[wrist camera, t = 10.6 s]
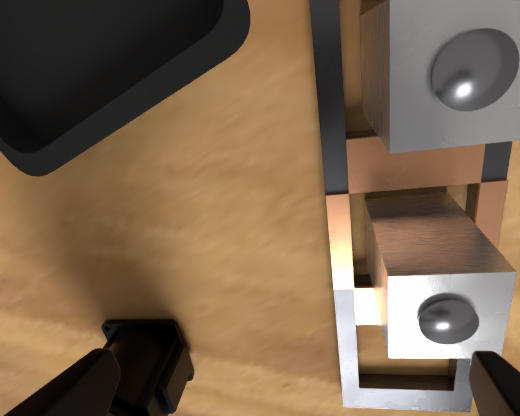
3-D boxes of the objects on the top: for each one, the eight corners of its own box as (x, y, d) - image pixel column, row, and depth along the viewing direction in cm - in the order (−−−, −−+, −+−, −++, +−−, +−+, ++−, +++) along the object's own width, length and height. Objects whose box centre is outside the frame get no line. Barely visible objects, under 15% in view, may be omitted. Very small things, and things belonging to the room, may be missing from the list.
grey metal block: (362, 112, 18) (391, 156, 11) (359, 16, 16) (392, -4, 9) (455, 100, 17) (550, 139, 10) (463, -4, 15) (587, -42, 8)
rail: (463, 396, 26) (471, 414, 24) (342, 393, 28) (343, 409, 26) (534, -111, 13) (557, -127, 12) (304, -57, 15) (303, -66, 14)
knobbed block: (366, 261, 22) (390, 363, 15) (364, 198, 20) (389, 281, 13) (442, 258, 21) (503, 364, 14) (447, 191, 19) (521, 276, 12)
